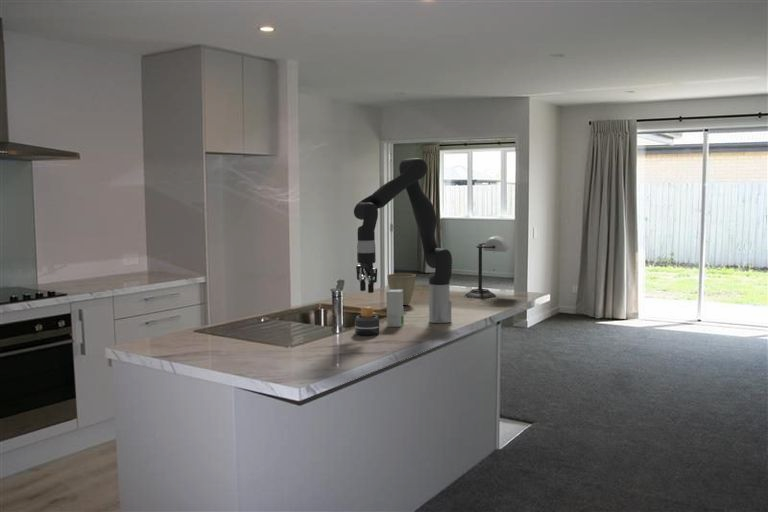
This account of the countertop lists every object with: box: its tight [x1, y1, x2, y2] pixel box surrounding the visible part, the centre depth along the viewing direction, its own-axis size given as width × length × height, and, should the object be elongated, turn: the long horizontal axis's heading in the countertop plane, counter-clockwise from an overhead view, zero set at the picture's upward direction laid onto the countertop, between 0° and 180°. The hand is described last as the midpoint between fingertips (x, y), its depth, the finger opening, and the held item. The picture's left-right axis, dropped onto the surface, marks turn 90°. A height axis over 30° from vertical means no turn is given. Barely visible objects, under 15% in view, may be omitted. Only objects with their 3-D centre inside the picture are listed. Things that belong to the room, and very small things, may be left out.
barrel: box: [354, 314, 380, 337], centre depth 272 cm, size 10×10×7 cm
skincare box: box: [385, 289, 405, 328], centre depth 289 cm, size 8×7×16 cm
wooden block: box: [360, 306, 374, 318], centre depth 272 cm, size 5×6×5 cm
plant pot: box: [387, 273, 417, 306], centre depth 343 cm, size 15×15×16 cm
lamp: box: [464, 235, 510, 299], centre depth 370 cm, size 26×24×34 cm
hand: (366, 291), depth 271 cm, fingers open, 6 cm apart
